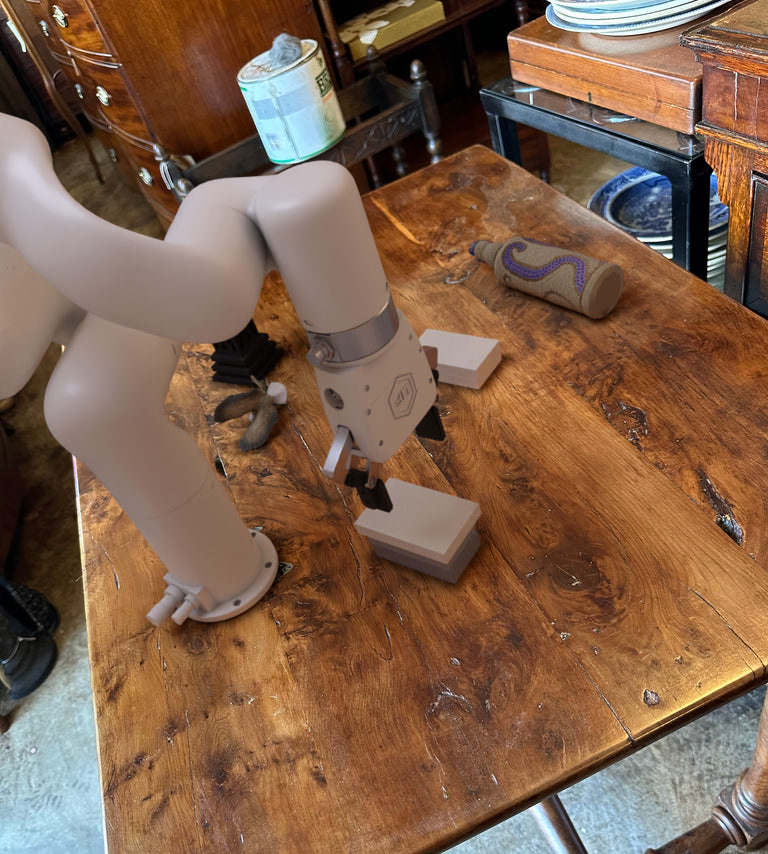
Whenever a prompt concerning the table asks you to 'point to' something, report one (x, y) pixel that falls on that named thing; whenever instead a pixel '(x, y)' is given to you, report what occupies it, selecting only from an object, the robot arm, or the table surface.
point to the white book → (421, 520)
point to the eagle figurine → (253, 411)
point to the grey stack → (431, 566)
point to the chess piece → (244, 357)
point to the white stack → (463, 357)
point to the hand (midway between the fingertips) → (406, 471)
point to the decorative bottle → (554, 274)
